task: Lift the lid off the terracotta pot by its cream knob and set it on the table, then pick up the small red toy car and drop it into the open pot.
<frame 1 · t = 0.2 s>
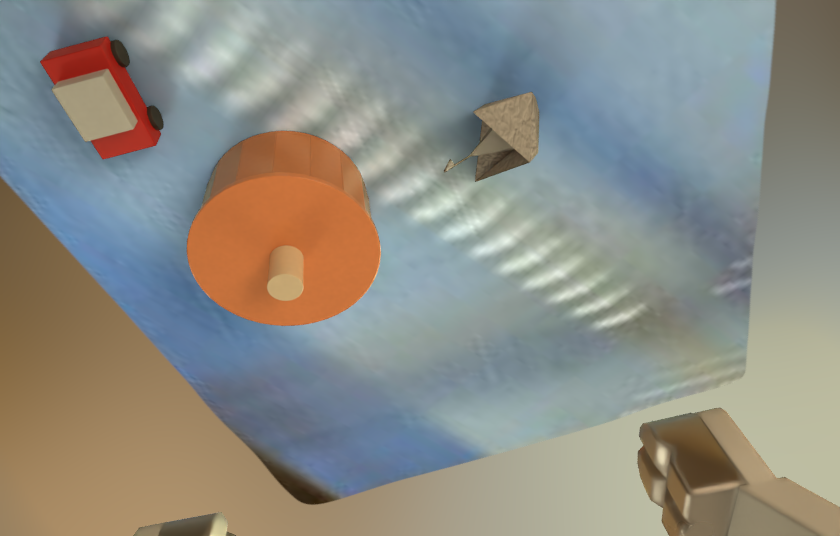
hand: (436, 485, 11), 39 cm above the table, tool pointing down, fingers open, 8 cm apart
paper boat: (483, 118, 49), on the table
lid: (287, 253, 46), point 7 cm above the table, touching pot
pot: (289, 201, 52), on the table
car: (111, 89, 43), on the table
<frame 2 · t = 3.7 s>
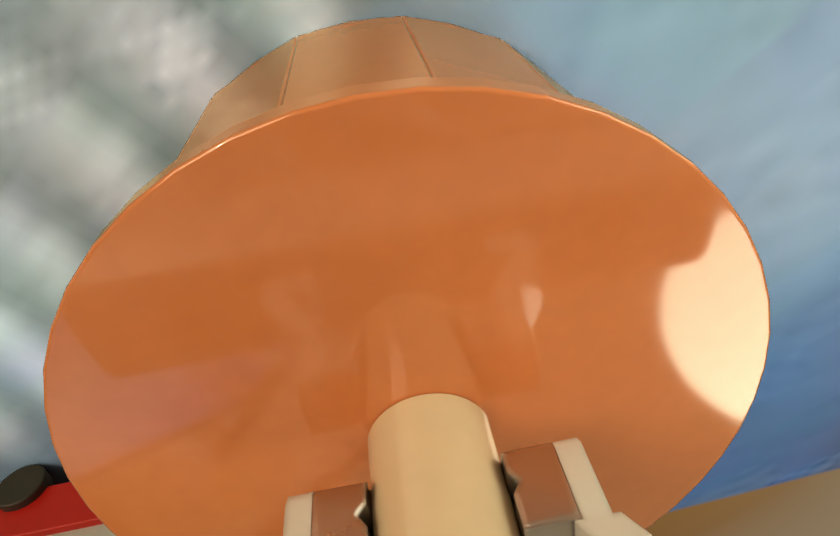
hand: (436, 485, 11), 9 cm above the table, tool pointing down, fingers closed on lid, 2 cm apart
lid: (425, 414, 13), point 7 cm above the table, touching gripper, pot
pot: (395, 241, 19), on the table
car: (122, 489, 24), on the table
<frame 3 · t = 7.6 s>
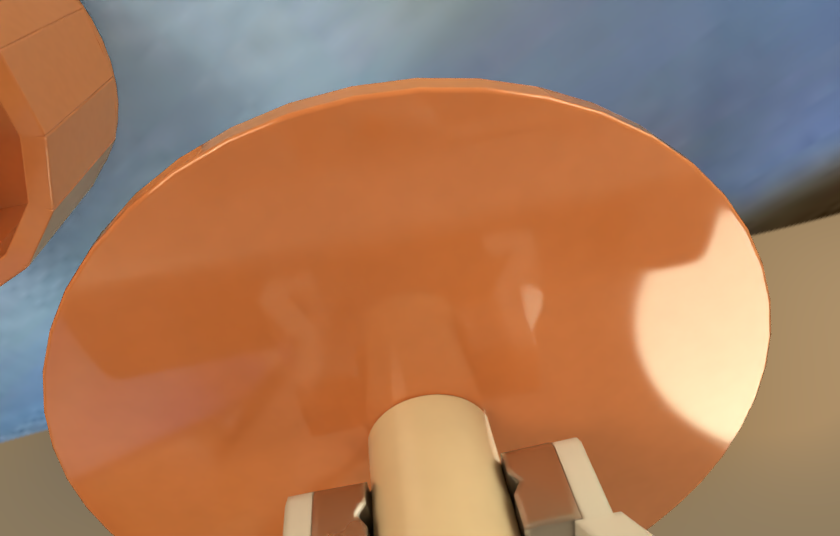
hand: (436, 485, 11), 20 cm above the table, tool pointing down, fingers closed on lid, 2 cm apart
lid: (425, 415, 13), point 18 cm above the table, touching gripper
when the fingers open (2 cm above the table, at t = 11.5 s): lid stays where it is, point 1 cm above the table.
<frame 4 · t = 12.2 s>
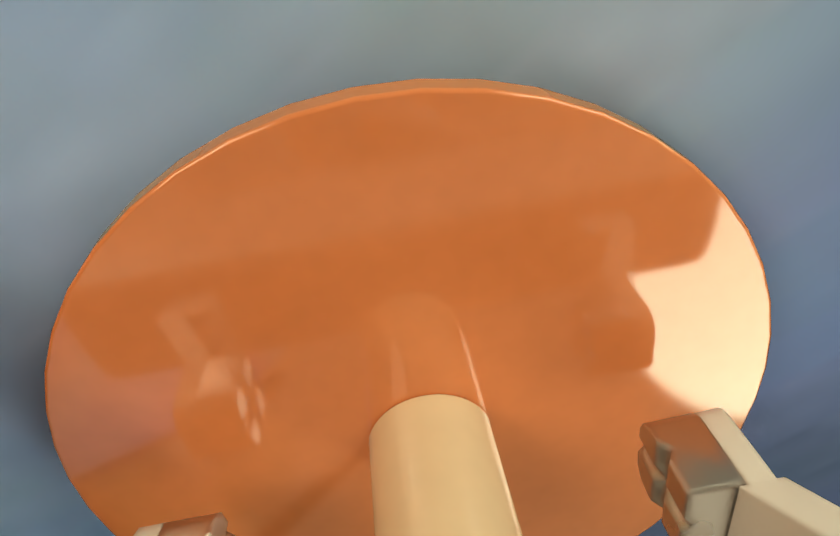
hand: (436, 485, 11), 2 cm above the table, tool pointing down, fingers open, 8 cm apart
lid: (426, 415, 13), point 1 cm above the table
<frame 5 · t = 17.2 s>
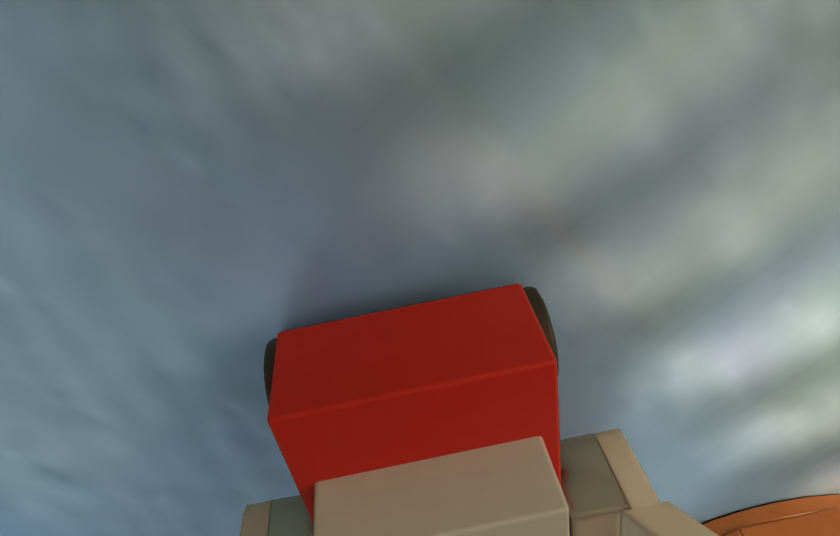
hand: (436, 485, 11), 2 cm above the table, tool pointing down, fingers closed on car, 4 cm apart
car: (426, 416, 13), on the table, touching gripper
when the fingers open (4 cm above the table, at t = 26.1 s): car stays where it is, resting on pot.
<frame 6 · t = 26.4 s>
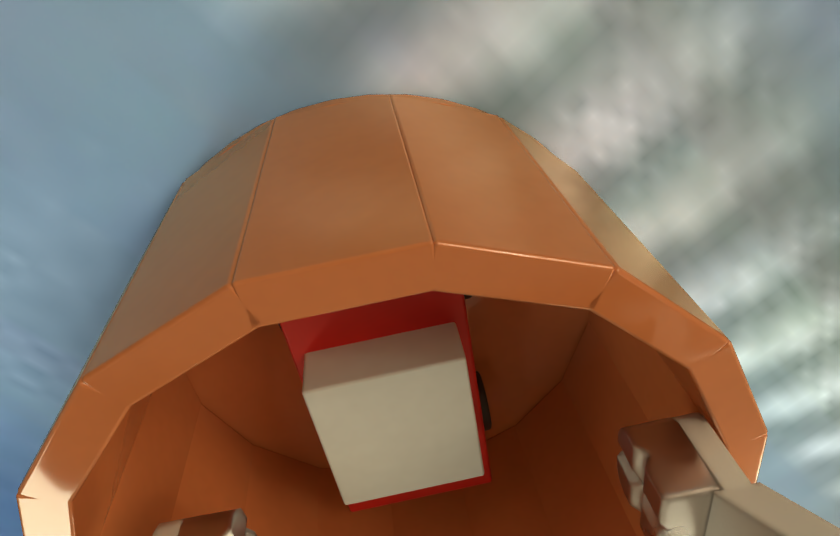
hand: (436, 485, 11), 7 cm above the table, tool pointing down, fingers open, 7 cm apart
pot: (387, 320, 18), on the table
car: (388, 335, 17), resting on pot
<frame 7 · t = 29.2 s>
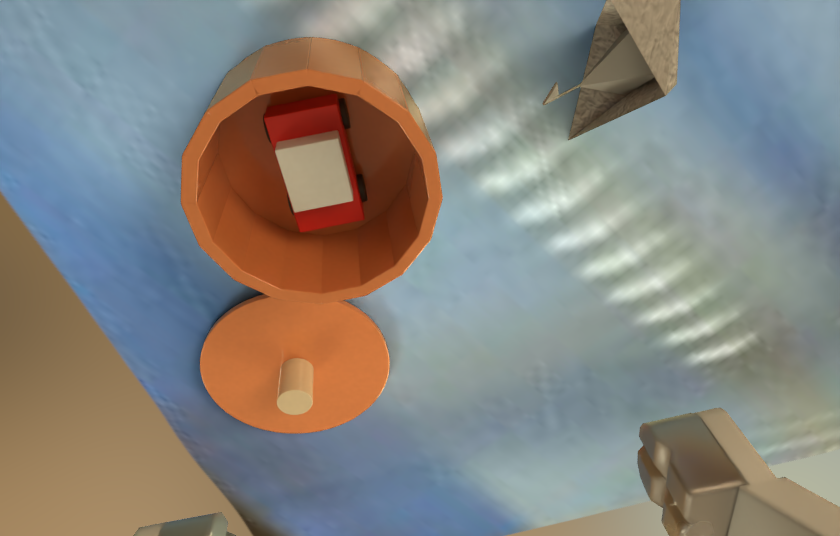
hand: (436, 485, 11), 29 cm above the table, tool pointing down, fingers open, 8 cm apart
paper boat: (591, 46, 36), on the table
lid: (297, 364, 47), point 1 cm above the table
pot: (318, 148, 38), on the table
car: (318, 153, 37), resting on pot
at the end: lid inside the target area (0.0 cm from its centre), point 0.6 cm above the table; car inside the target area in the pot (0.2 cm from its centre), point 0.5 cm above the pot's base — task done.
